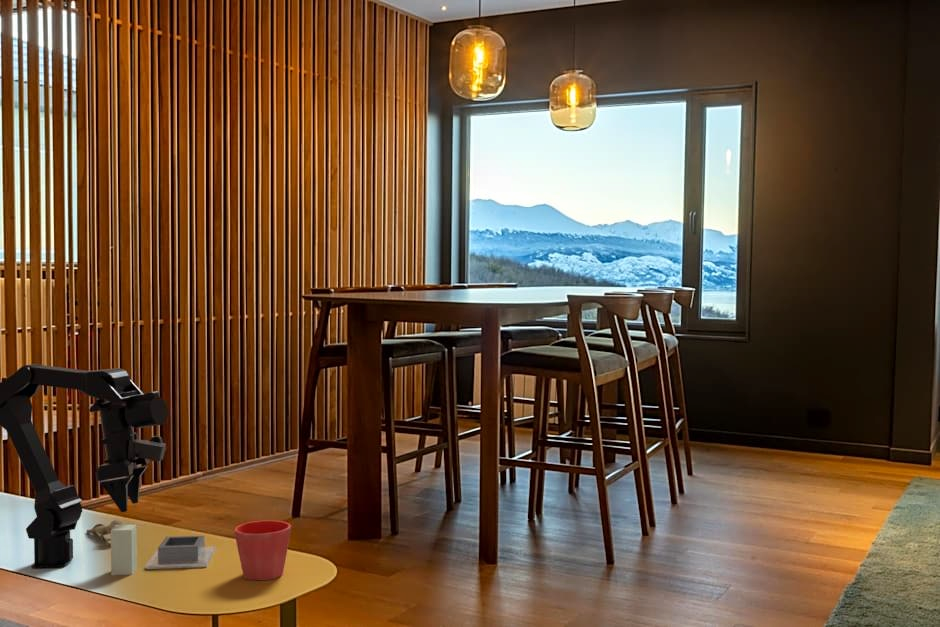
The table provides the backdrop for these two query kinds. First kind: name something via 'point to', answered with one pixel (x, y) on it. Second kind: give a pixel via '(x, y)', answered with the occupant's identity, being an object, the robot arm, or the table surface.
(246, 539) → the flower pot
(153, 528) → the table surface
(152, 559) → the bracket
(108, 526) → the figurine
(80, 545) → the table surface
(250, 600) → the table surface
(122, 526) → the rail post
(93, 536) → the table surface
